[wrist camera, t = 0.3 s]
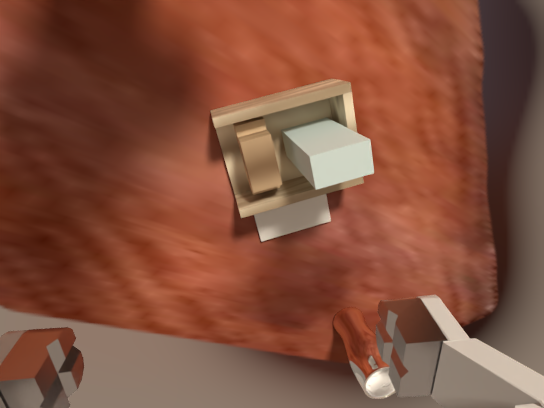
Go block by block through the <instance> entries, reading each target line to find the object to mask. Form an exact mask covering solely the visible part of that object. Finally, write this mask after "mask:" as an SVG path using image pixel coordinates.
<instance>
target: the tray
mask: <svg viewBox="0 0 544 408" xmlns="http://www.w3.org/2000/svg"><path fill="white" fill-rule="evenodd" d="M210 112H211V116H212V120H213V123H214V127H215V129H216V132H217V136H218V139H219V142H220V146H221V149H222V153H223V156H224V160H225V163H226V166H227V170H228V173H229V177H230V180H231V184H232V187H233V190H234V194H235V198H236V201H237V205H238V209H239V212H240V216H241V218H244V217H248V216H251V215H254V214H258V213H261V212H265V211H268V210H272V209H275V208H279V207H282V206H286V205H289V204H292V203H296V202H299V201H303V200H306V199H310V198H313V197H317V196H320V195H324V194H327V193H331V192H334V191H337V190H341V189H344V188H348V187H351V186H355V185H358V184H362V183H364V181H363V176H362V177H359V178H355V179H352V180H349V181H345V182H342V183H338V184H335V185H331V186H328V187H324V188H321V189H317V190H316V189H315V188H314V187H313V186H312V185H311V184H310V182H309V181H308V180H307V179H306V178H305V177H304V175H303V174H302V173H301V172H300V171H299V170H298V169H297V167H296V166H295V165H294V164H293V163H292V162H291V160H290V159H289V158H288V157H287V156H286V151H285V146H284V142H283V137H282V133H281V130H282V129H286V128H290V127H293V126H297V125H301V124H304V123H308V122H312V121H315V120H319V119H323V118H326V117H327V118H329V119H331V120H333V121H335V122H337V123H339V124H341V125H343V126H345V127H347V128H348V129H350V130H352V131H354V132H356V133H357V129H356V121H355V113H354V106H353V98H352V91H351V83H350V82H347V81H342V80H337V79H329V80H325V81H321V82H317V83H313V84H310V85H306V86H302V87H298V88H294V89H291V90H287V91H283V92H279V93H275V94H272V95H268V96H264V97H260V98H256V99H253V100H249V101H245V102H241V103H237V104H233V105H230V106H226V107H222V108H218V109H214V110H211V111H210ZM259 116H262V117H263V118H264V120H265V124H266V129H267V130H268V132H269V133H270V134H271V137H272V141H273V146H274V150H275V154H276V159H277V163H278V167H279V172H280V176H281V180H282V185H280V188H277V189H273V190H270V191H266V192H263V193H259V194H256V195H253V194H252V191H251V188H250V186H249V182H248V179H247V175H246V171H245V167H244V164H243V160H242V156H241V153H240V149H239V145H238V142H237V138H236V134H235V131H234V127H233V123H237V122H241V121H244V120H248V119H252V118H256V117H259Z"/></svg>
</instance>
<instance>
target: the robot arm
mask: <svg viewBox="0 0 544 408" xmlns="http://www.w3.org/2000/svg"><path fill="white" fill-rule="evenodd" d="M378 314H379V316H380V318H381V320H380V321H379V322H378V324H377V325H376V342H377V347H378V351H379V354H380V356H381V359H382V361H383V362H385V363H386V364H388V365H389V374H388V375H389V377H390V380H391V382H392V384H393V387H394V389H395V391H396V393H397V396H398V397H411V396H426V395H432V398H433V399H434V400H436V401H437V402H438V403H439V404H440V405H441V406H443V407H444V408H544V376H542V375H541V374H538V373H537V372H535V371H533V370H532V369H530V368H528V367H526V366H524V365H522V364H521V363H519V362H517V361H515V360H513V359H512V358H510V357H508V356H506V355H504V354H503V353H501V352H499V351H497V350H496V349H494V348H492V347H490V346H488V345H486V344H485V343H483V342H481V341H479V340H477V339H470V338H469V337H468V336H467V334H466V333H465V332H464V330H463V329H462V327H461V326H460V325H459V323H458V322H457V321H456V319H455V318H454V317H453V315H452V314H451V313H450V311H449V310H448V309H447V307H446V306H445V305H444V303H443V302H442V301H441V299H440V298H439V297H438V296H436V295H429V296H419V297H412V298H402V299H391V300H380V302H379V305H378ZM75 339H76V337H75V335H74V332H73V330H72V329H71V328H67V327H66V328H50V329H33V330H24V331H9V332H7V333H5V334H3V335H2V336H1V337H0V408H69V407H70V403H69V401H68V397H69V396H70V395H72V393H74V392H75V391H76V390H77V389H78V387H79V384H80V382H81V380H82V375H83V369H84V363H83V357H82V354H81V351H80V350H78V349H77V348H75V347H74V346H73V343H74V341H75Z"/></svg>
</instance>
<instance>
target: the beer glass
mask: <svg viewBox="0 0 544 408" xmlns="http://www.w3.org/2000/svg"><path fill="white" fill-rule="evenodd" d="M333 326H334V328H335V330H336V331H337V332H338V333H339V335H340V336H341V338H342V340H343V342H344V345H345V349H346V353H347V357H348V360H349V363H350V366H351V368H352V370H353V373H354V374H355V376H356V378H357V380H358V382H359V383H360V385H361V387H362V388H363V390H364V392H365V394H366V395H367V396H368V397H371V398H374V399H382V398H385V397H388V396H390V395H392V394H394V393H395V392H396V391H395V389H394V387H393V384H392V382H391V380H390V377H389V375H388V374H389V365H388V364H386V363H385V362H383V361H382V359H381V356H380V354H379V351H378V347H377V342H376V334H375V333H374V332H373V331H372V330H371V329H370V328H369V326H368V325H367V323H366V321H365V318H364V315H363V313H362V311H361V310H360V309H358V308H356V307H347V308H344V309H342V310H340V311H339V312H338V313H337V314H336V315H335V317H334V320H333Z"/></svg>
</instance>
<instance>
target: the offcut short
mask: <svg viewBox="0 0 544 408" xmlns="http://www.w3.org/2000/svg"><path fill="white" fill-rule="evenodd" d="M238 141H239V144H240V148H241V152H242V156H243V159H244V163H245V167H246V170H247V174H248V178H249V182H250V185H251V188H252V190H253V193H256V192H259V191H263V190H266V189H270V188H273V187H277V186H280V185H282V180H281V176H280V172H279V167H278V163H277V159H276V154H275V150H274V146H273V141H272V137H271V134H270V133H269V132H268V130H263V131H260V132H256V133H252V134H249V135H245V136H241V137H238Z"/></svg>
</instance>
